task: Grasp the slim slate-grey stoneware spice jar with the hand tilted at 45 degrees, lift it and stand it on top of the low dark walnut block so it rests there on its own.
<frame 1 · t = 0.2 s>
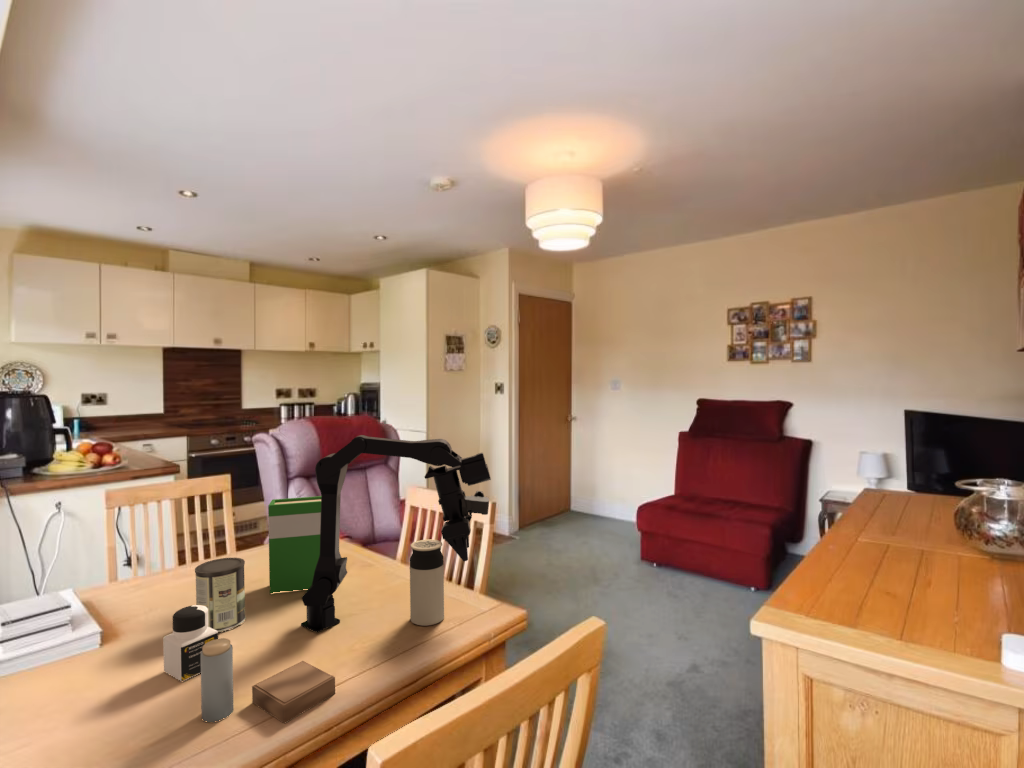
hand: (466, 554, 125), 15 cm above the table, tool pointing down, fingers open, 9 cm apart
hardback book: (306, 586, 146), on the table
spice jar: (217, 713, 90), on the table
medicine bottle: (191, 669, 104), on the table
travel mug: (427, 619, 125), on the table
walnut block: (294, 698, 94), on the table
coffee can: (221, 624, 124), on the table
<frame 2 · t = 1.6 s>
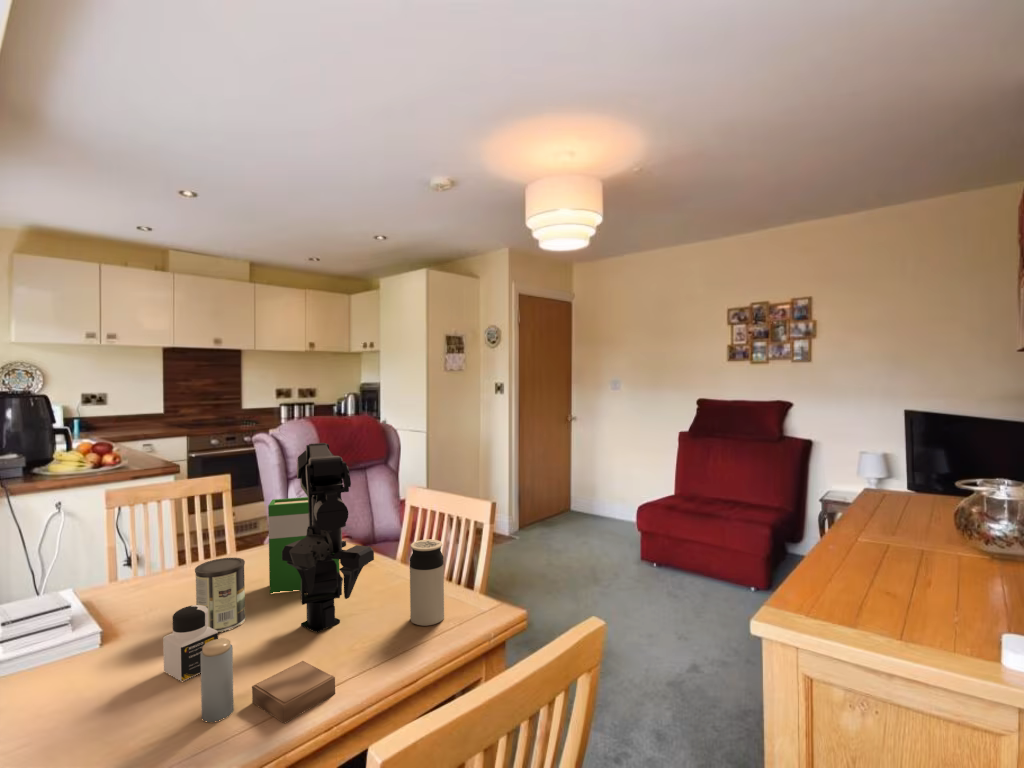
hand: (328, 595, 107), 13 cm above the table, tool pointing down, fingers open, 9 cm apart
nothing on the table moved.
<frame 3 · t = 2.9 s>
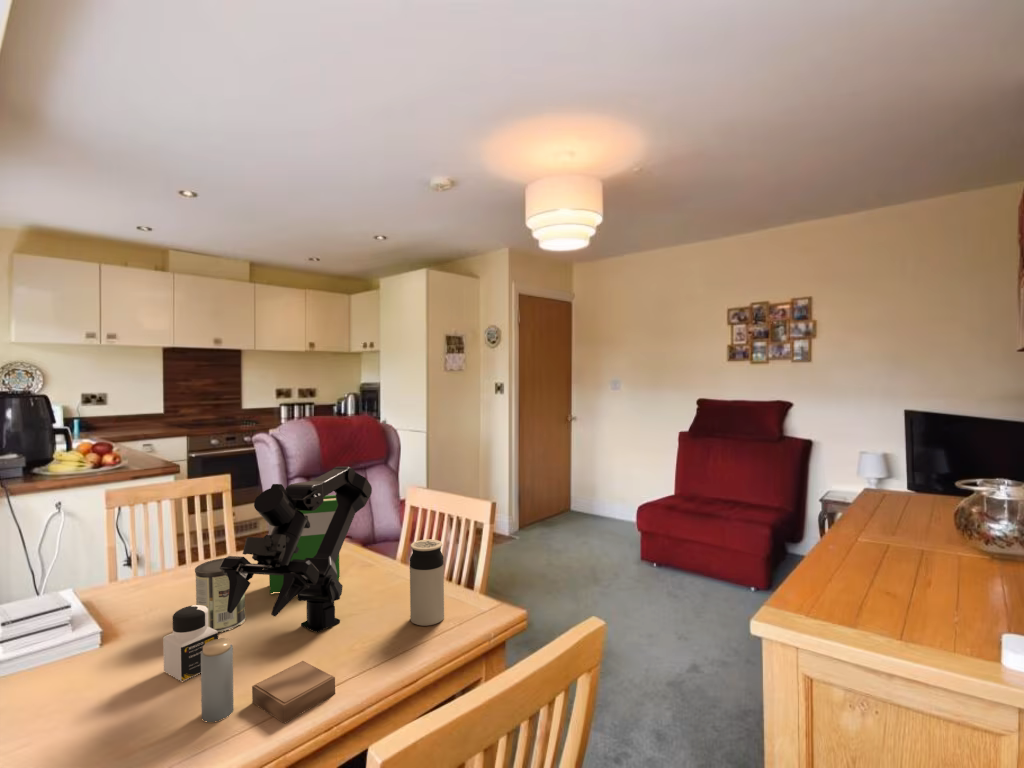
hand: (251, 614, 98), 13 cm above the table, tool tilted 45°, fingers open, 9 cm apart
nothing on the table moved.
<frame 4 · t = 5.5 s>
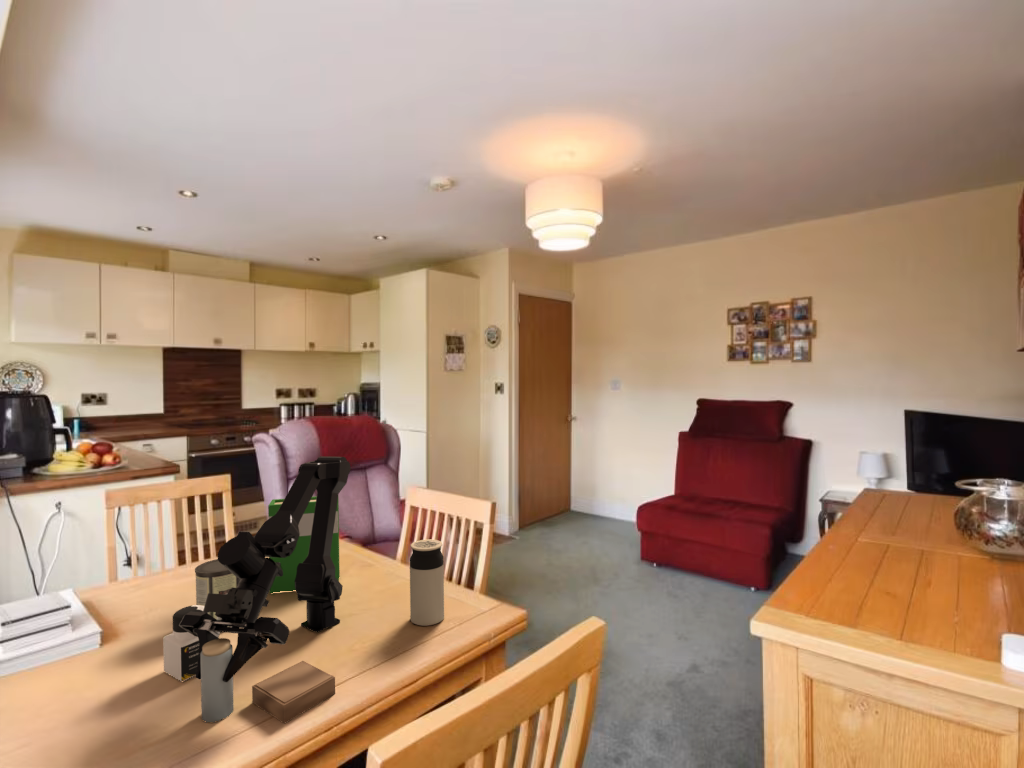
hand: (211, 680, 89), 7 cm above the table, tool tilted 45°, fingers closed on spice jar, 5 cm apart
spice jar: (217, 713, 90), on the table, touching gripper
everything else where it was.
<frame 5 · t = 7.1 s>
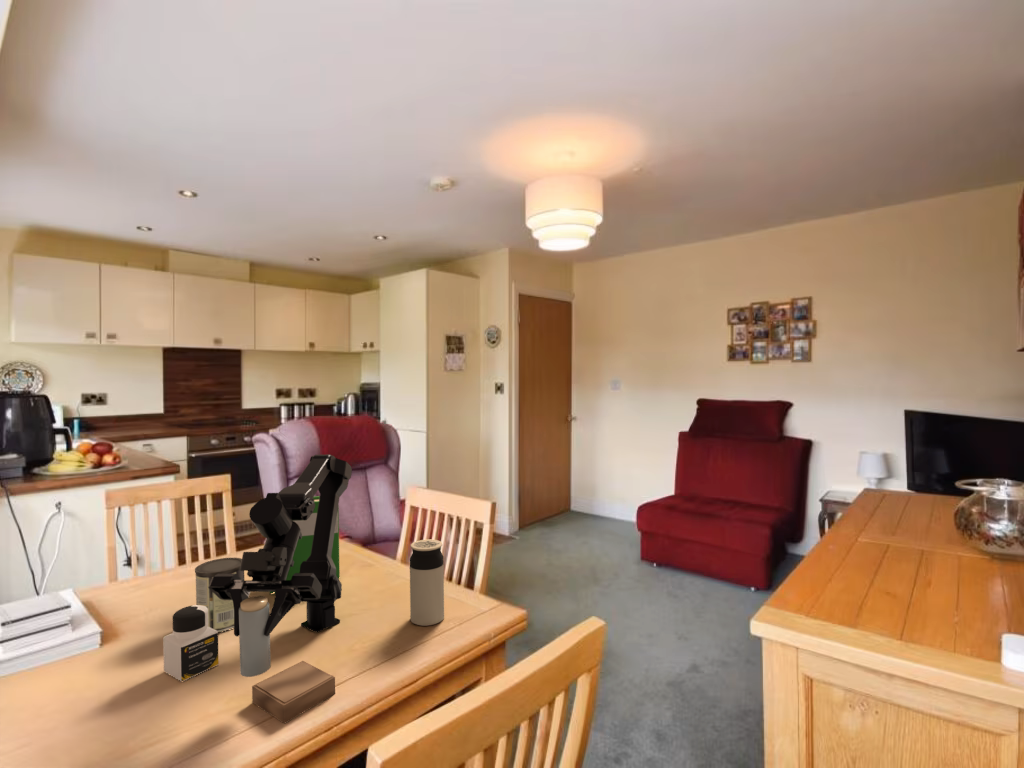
hand: (250, 635, 90), 13 cm above the table, tool tilted 45°, fingers closed on spice jar, 5 cm apart
spice jar: (255, 668, 92), point 7 cm above the table, touching gripper
everything else where it was.
when the fingers open (10 cm above the table, at t = 8.6 s): spice jar stays where it is, resting on walnut block.
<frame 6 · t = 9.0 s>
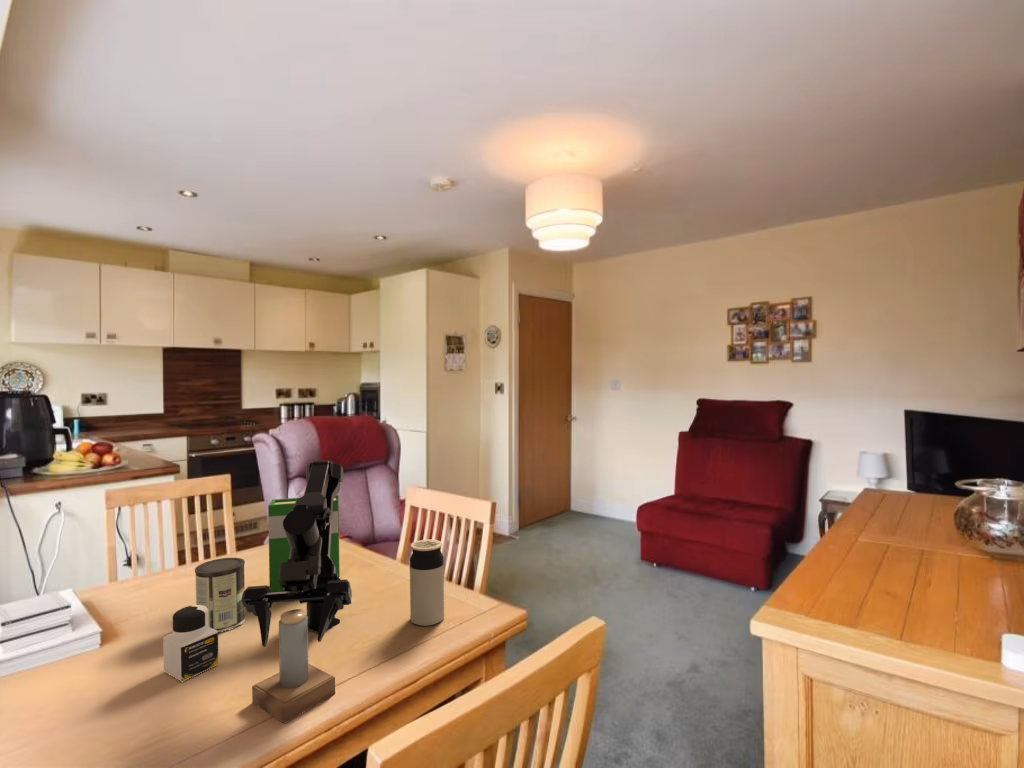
hand: (291, 643, 93), 11 cm above the table, tool tilted 45°, fingers open, 9 cm apart
spice jar: (294, 680, 94), point 3 cm above the table, touching walnut block
everything else where it was.
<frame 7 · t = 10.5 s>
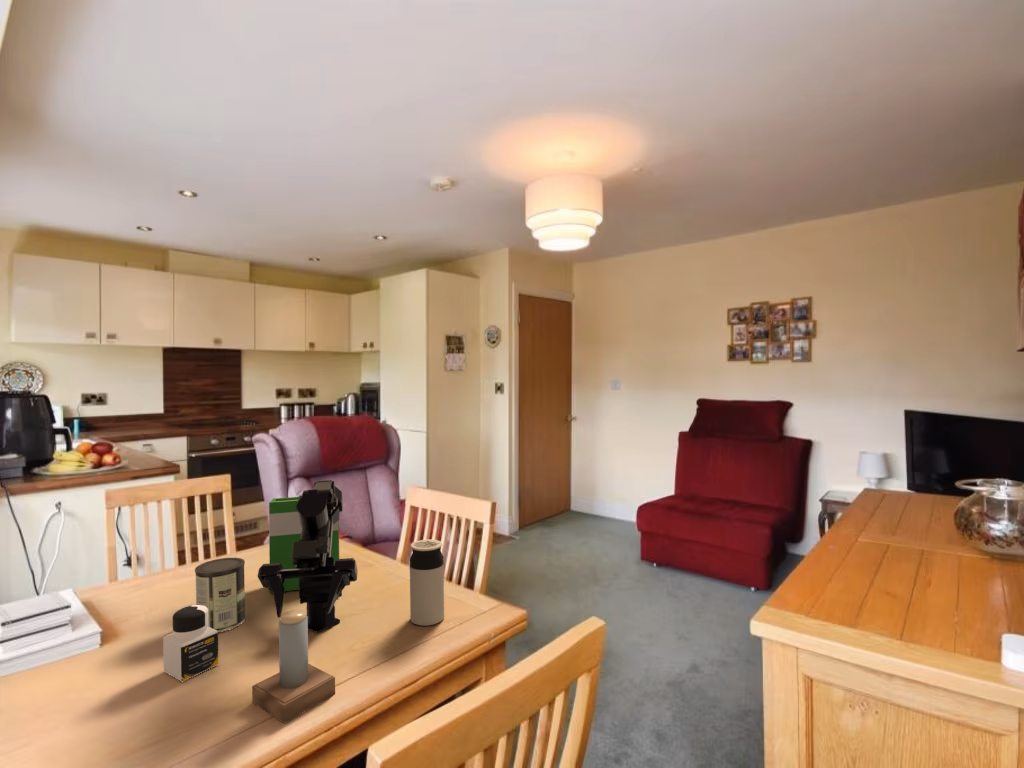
hand: (303, 614, 102), 11 cm above the table, tool tilted 45°, fingers open, 9 cm apart
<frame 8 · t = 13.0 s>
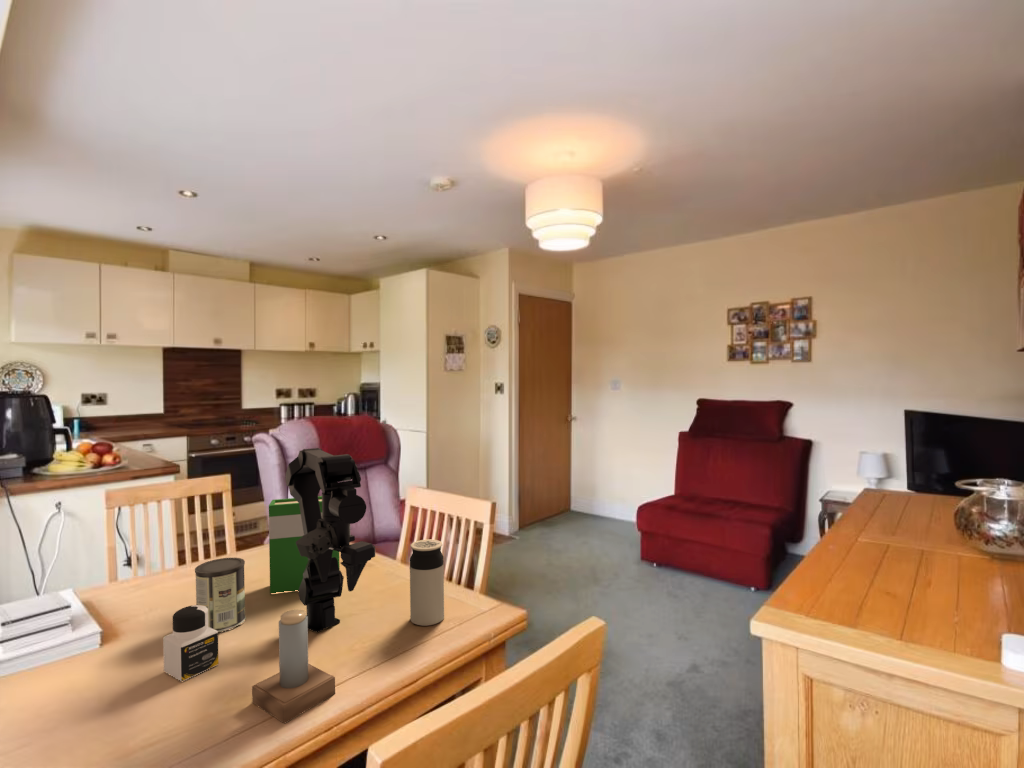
hand: (337, 586, 112), 13 cm above the table, tool pointing down, fingers open, 9 cm apart
at the end: spice jar inside the target area on the walnut block (0.0 cm from its centre), point 3.1 cm above the walnut block's base; spice jar tilted 0°; the gripper is holding nothing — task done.
